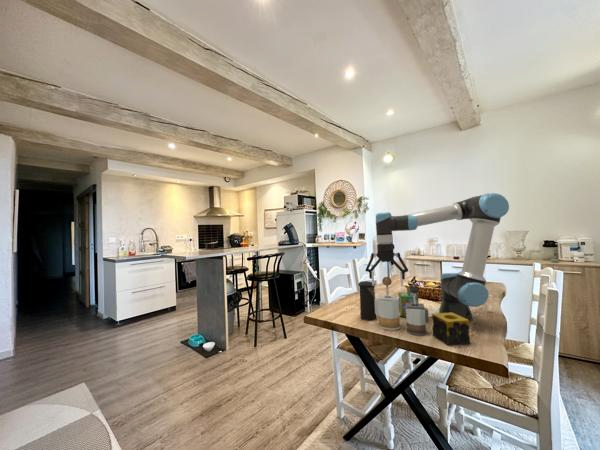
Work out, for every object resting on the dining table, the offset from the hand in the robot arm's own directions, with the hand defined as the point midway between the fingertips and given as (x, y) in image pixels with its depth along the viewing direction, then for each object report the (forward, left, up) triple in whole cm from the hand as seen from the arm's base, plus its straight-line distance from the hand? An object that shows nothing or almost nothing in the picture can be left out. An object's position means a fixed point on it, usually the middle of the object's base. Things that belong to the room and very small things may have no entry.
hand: (387, 285), depth 124 cm
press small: (-12, +4, -20) cm, 24 cm away
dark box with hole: (-25, +9, -20) cm, 34 cm away
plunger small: (-12, +4, -14) cm, 19 cm away
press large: (0, 0, -20) cm, 20 cm away
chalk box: (-10, -19, -20) cm, 30 cm away
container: (+11, -9, -20) cm, 25 cm away
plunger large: (0, 0, -13) cm, 13 cm away
